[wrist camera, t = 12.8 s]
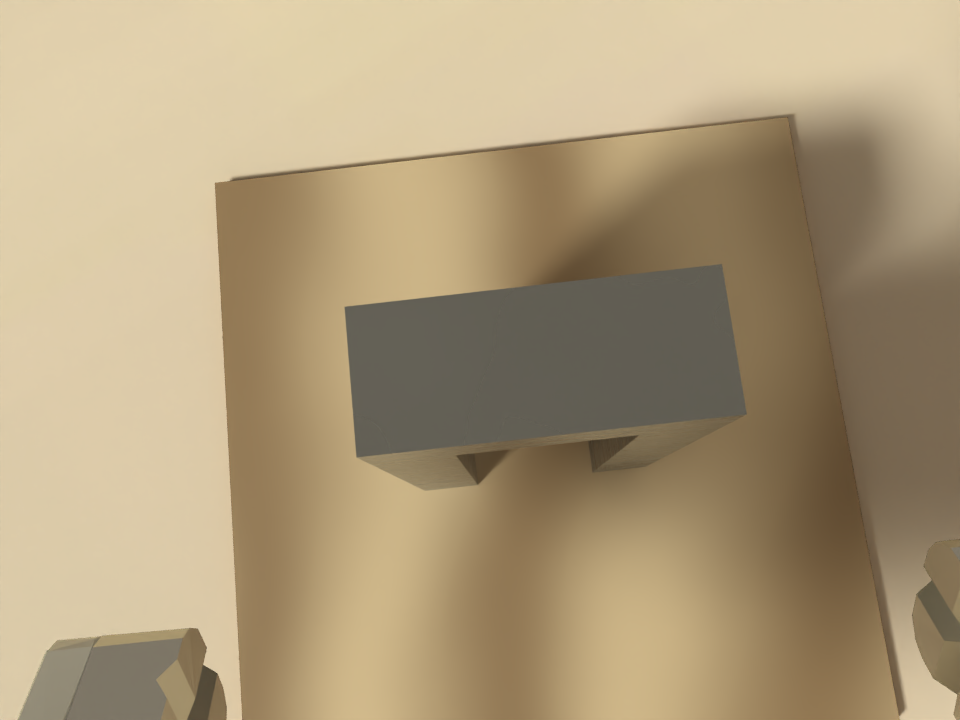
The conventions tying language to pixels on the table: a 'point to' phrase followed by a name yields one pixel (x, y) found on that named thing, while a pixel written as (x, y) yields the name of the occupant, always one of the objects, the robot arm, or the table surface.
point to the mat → (543, 456)
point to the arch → (543, 373)
